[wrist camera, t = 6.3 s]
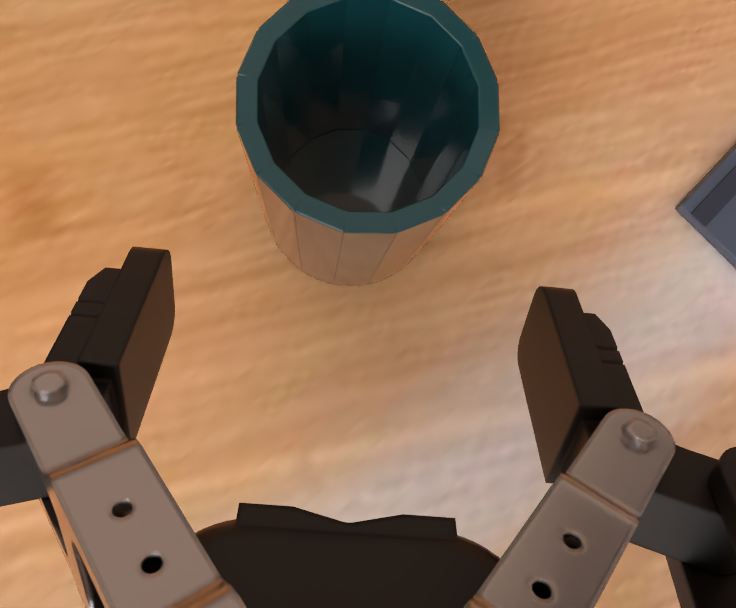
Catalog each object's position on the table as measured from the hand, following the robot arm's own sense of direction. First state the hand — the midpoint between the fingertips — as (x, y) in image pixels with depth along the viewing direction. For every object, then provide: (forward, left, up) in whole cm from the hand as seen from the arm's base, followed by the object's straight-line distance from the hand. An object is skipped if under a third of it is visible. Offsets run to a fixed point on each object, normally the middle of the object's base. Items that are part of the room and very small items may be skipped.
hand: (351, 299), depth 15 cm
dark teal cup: (-3, +3, -9) cm, 10 cm away
